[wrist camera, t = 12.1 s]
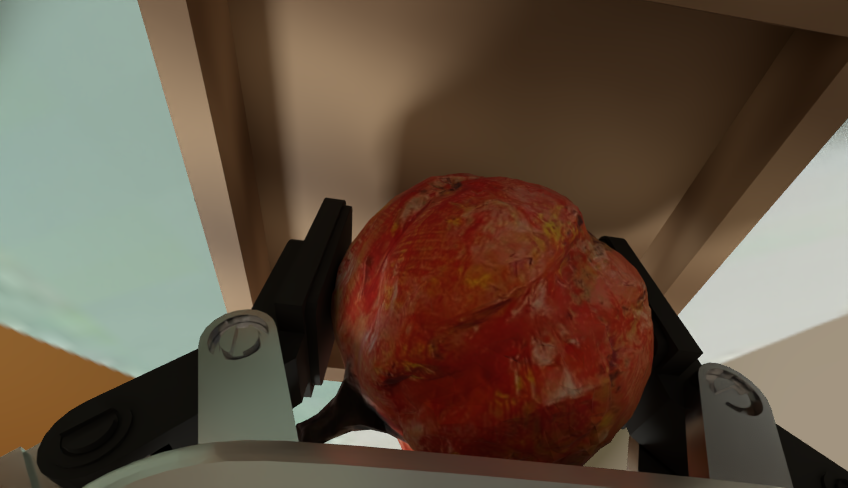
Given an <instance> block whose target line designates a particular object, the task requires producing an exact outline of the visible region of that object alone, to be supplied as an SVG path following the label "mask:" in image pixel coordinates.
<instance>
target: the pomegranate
mask: <svg viewBox="0 0 848 488" xmlns="http://www.w3.org/2000/svg"><path fill="white" fill-rule="evenodd" d="M331 318H332V324H333V330H334V335H335V339H336V342H337V345H338V348H339V351H340V354H341V357H342V360H343V363H344V366H345V373H344V379H343V382H342V384H341V386H340V388H339V390H338V393H337V395H336V396H335V397H334V398H333V399H332V400H331V401H330V402H329V403H328V404H327V405H326V406H325V407H324V408H323V409H322V410H321V411H320V412H319V413H318V414H316V415H315V416H313V417H311V418H310V419H308V420H306V421H303V422H301V423H298V424H297V425H296V430H297V435H298V440H299V442H309V443H325V442H327V441H329V440H331V439H333V438H335V437H338V436H340V435H343V434H345V433H348V432H351V431H359V430H370V429H371V430H375V431H380V432H384V433H388V434H390V435H392V436H394V437H396V438H397V439H398V441H399V443H400V445H401V448H402V450H410V451H421V452H433V453H444V454H455V455H466V456H478V457H488V458H499V459H510V460H521V461H531V462H542V463H553V464H563V465H574V466H583V465H584V464H585V463H586V462H587V461H588V460H589V459H590V458H591V457H592V456H593V455H594V454H595V453H596V452H597V451H598V450H599V449H600V448H602V447H604V446H605V445H607V444H609V443H610V442H611V441H612V439H613V438H614V436H615V434H616V433H617V432H618V431H619V430H620V429H621V428H622V427H623V426H624V425H625V424H626V423H627V422H628V420H629V419H630V418H631V417H632V415H633V413H634V411H635V409H636V407H637V405H638V403H639V401H640V399H641V396H642V393H643V391H644V388H645V386H646V383H647V381H648V379H649V377H650V374H651V369H652V362H653V352H654V335H653V322H652V319H651V308H650V307H649V303H648V293H647V288H646V285H645V282H644V280H643V279H642V277H641V276H640V274H639V272H638V271H637V269H636V268H635V267H634V266H633V265H632V264H631V263H630V262H629V261H627V260H626V259H625V258H624V257H623V256H622V255H621V254H620V253H618V252H617V251H615V250H614V249H612V248H611V247H609V246H608V245H607V244H605V243H603V242H601V241H599V240H598V239H597V238H596V237H595V236H594V235H592V234H591V233H590V232H589V231H588V230H587V229H586V226H585V223H584V220H583V216H582V213H581V212H580V210H579V208H578V207H577V206H576V205H574V204H573V202H572V201H571V200H569V199H568V198H567V197H566V196H563V195H561V194H559V193H558V192H556V191H554V190H552V189H550V188H547V187H545V186H542V185H539V184H534V183H529V182H525V181H522V180H518V179H512V178H507V177H500V176H499V177H484V176H480V177H479V176H476V175H473V174H469V173H457V174H448V175H444V176H432V177H429V178H427V179H425V180H423V181H422V182H420V183H418V184H416V185H414V186H413V187H411V188H409V189H407V190H406V191H404V192H402V193H400V194H399V195H397V196H395V197H394V198H393V199H392V200H390V201H389V202H388V203H387V204H386V205H385V206H384V207H383V208H382V209H381V210H380V211H379V212H377V213H376V214H375V215H374V216H373V217H372V218H371V219H370V220H369V221H368V222H367V224H366V225H365V226H364V228H363V229H362V230H361V232H360V233H359V234H358V235H357V237H356V238H355V239H354V240H353V242H352V243H351V244H350V246H349V248H348V250H347V252H346V254H345V256H344V258H343V260H342V262H341V263H340V265H339V267H338V272H337V277H336V281H335V289H334V291H333V293H332V298H331Z"/></svg>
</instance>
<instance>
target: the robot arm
mask: <svg viewBox="0 0 848 488" xmlns="http://www.w3.org/2000/svg"><path fill="white" fill-rule="evenodd" d="M352 212H353V209H352V206H347V205H346V201H345V200H341V199H333V198H325V199H324V200H323V202H322V204H321V206H320V209H319V211H318V213H317V215H316V217H315V219H314V221H313V223H312V225H311V227H310V229H309V231H308V233H307V235H306V237H305V239H304V240H296V239H290V240H289V241H288V242H287V244H286V246H285V248H284V249H283V251H282V253H281V255H280V257H279V259H278V260H277V262H276V264H275V266H274V268H273V270H272V272H271V273H270V275H269V277H268V279H267V281H266V283H265V284H264V286H263V288H262V290H261V292H260V294H259V296H258V297H257V299H256V301H255V303H254V305H253V307H252V308H251V309H244V310H236V311H233V312H230V313H227V314H224V315H223V316H221V317H219V318H217V319H215V320H214V321H213V322H212V323H211V324H210V325H208V326H207V327H206V329H205V330H204V332H203V333H202V335H201V336H200V340H199V345H198V349H196V350H194V351H192V352H190V353H188V354H186V355H184V356H182V357H179V358H177V359H175V360H173V361H171V362H169V363H167V364H165V365H162V366H160V367H158V368H156V369H154V370H152V371H150V372H148V373H145V374H143V375H141V376H139V377H137V378H135V379H133V380H131V381H128V382H126V383H124V384H122V385H120V386H118V387H116V388H114V389H111V390H109V391H107V392H105V393H103V394H101V395H99V396H97V397H95V398H92V399H90V400H88V401H86V402H85V403H83V404H81V405H79V406H77V407H76V408H74V409H72V410H71V411H69V412H68V413H67V414H65V415H64V416H63V417H62V418H60V419H59V420H58V421H57V422H56V423H55V424H54V425H53V426H52V427H51V429H50V430H49V431H48V432H47V433H46V435H45V436H44V438H43V440H42V442H41V443H39V444H38V445H36V446H34V447H32V448H30V449H29V450H26V451H25V450H24V449H23V448H21V447H19V448H17V449H15V450H13V451H12V452H10V453H8V454H6V455H4V456H2V457H0V488H848V471H846V470H845V469H843V468H842V467H840V466H839V465H837V464H836V463H834V462H833V461H831V460H829V459H828V458H827V457H825V456H824V455H822V454H821V453H819V452H818V451H816V450H815V449H813V448H812V447H810V446H809V445H807V444H806V443H804V442H802V441H801V440H800V439H798V438H797V437H795V436H793V435H792V434H790V433H789V432H788V431H786V430H784V429H783V428H782V427H780V426H779V425H777V424H775V420H774V417H773V414H772V410H771V407H770V405H769V403H768V400H767V399H766V397H765V396H764V395H763V393H762V392H761V391H760V390H759V389H758V388H757V387H756V386H755V385H754V384H753V383H752V382H751V381H750V380H749V379H747V378H746V377H744V376H743V375H742V374H741V373H739V372H737V371H735V370H733V369H731V368H730V367H727V366H724V365H721V364H718V363H706V364H703V365H701V363H700V362H699V360H698V358H699V357H700V356H701V355H702V354H703V352H702V351H701V349H700V348H699V346H698V345H697V343H696V342H695V340H694V339H693V337H692V336H691V335H690V333H689V332H688V330H687V329H686V327H685V326H684V324H683V323H682V321H681V320H680V318H679V317H678V316H677V314H676V313H675V311H674V310H673V308H672V307H671V305H670V304H669V302H668V301H667V300H666V298H665V297H664V295H663V294H662V292H661V291H660V289H659V288H658V286H657V285H656V283H655V282H654V281H653V279H652V278H651V276H650V275H649V273H648V272H647V270H646V269H645V267H644V266H643V264H642V263H641V262H640V260H639V259H638V257H637V256H636V254H635V253H634V251H633V250H632V248H631V247H630V246H629V244H628V243H627V241H626V240H625V239H623V238H618V237H610V236H602V237H600V238H599V241H601V242H603V243H605V244H607V245H608V246H609V247H611V248H612V249H614V250H615V251H617V252H618V253H620V254H621V255H622V256H623V257H624V258H625V259H626V260H627V261H629V262H630V263H631V264H632V265H633V266H634V267H635V268H636V269H637V271H638V272H639V274H640V276H641V277H642V279H643V280H644V282H645V285H646V288H647V293H648V303H649V307H650V308H651V319H652V322H653V335H654V352H653V362H652V369H651V374H650V377H649V379H648V381H647V383H646V386H645V388H644V391H643V393H642V396H641V399H640V401H639V403H638V405H637V407H636V409H635V411H634V413H633V415H632V417H631V418H630V419H629V420H628V422H627V423H626V424H625V425H624V426H623V427H622V428H621V429H625V428H626V427H627V430H628V432H629V435H630V436H629V445H628V460H627V471H625V470H616V469H605V468H595V467H584V466H574V465H563V464H553V463H542V462H531V461H521V460H510V459H499V458H488V457H478V456H466V455H455V454H444V453H433V452H421V451H410V450H399V449H388V448H376V447H365V446H352V445H338V444H323V443H309V442H299V440H298V435H297V430H296V425H295V420H294V415H293V408H294V407H296V406H297V405H299V404H300V403H302V400H303V397H311V396H312V392H313V389H314V386H315V385H322V383H323V380H324V377H325V373H326V370H327V366H328V362H329V359H330V355H331V351H332V348H333V344H334V340H335V335H334V330H333V324H332V318H331V298H332V293H333V291H334V289H335V281H336V277H337V272H338V267H339V265H340V263H341V262H342V260H343V258H344V256H345V254H346V252H347V250H348V248H349V246H350V244H351V243H352Z"/></svg>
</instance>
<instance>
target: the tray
mask: <svg viewBox="0 0 848 488" xmlns="http://www.w3.org/2000/svg"><path fill="white" fill-rule="evenodd" d="M138 4H139V7H140V11H141V14H142V18H143V21H144V25H145V28H146V32H147V35H148V39H149V42H150V46H151V49H152V52H153V56H154V59H155V63H156V66H157V70H158V73H159V77H160V80H161V84H162V87H163V91H164V94H165V98H166V101H167V105H168V108H169V111H170V115H171V118H172V122H173V125H174V129H175V132H176V136H177V139H178V143H179V146H180V150H181V153H182V157H183V160H184V164H185V167H186V170H187V174H188V177H189V181H190V184H191V188H192V191H193V195H194V198H195V202H196V205H197V209H198V212H199V216H200V219H201V223H202V226H203V229H204V233H205V236H206V240H207V243H208V247H209V250H210V254H211V257H212V261H213V264H214V268H215V271H216V275H217V278H218V282H219V285H220V288H221V292H222V295H223V299H224V302H225V306H226V309H227V313H230V312H233V311H236V310H244V309H251V308H252V307H253V305H254V303H255V301H256V299H257V297H258V296H259V294H260V292H261V290H262V288H263V286H264V284H265V283H266V281H267V279H268V277H269V275H270V273H271V272H272V270H273V268H274V266H275V264H276V262H277V260H278V259H279V257H280V255H281V253H282V251H283V249H284V248H285V246H286V244H287V242H288V241H289V240H290V239H296V240H304V239H305V237H306V235H307V233H308V231H309V229H310V227H311V225H312V223H313V221H314V219H315V217H316V215H317V213H318V211H319V209H320V206H321V204H322V202H323V200H324V199H325V198H333V199H341V200H345V201H346V205H347V206H352V209H353V212H352V242H353V240H354V239H355V238H356V237H357V235H358V234H359V233H360V232H361V230H362V229H363V228H364V226H365V225H366V224H367V222H368V221H369V220H370V219H371V218H372V217H373V216H374V215H375V214H376V213H377V212H379V211H380V210H381V209H382V208H383V207H384V206H385V205H386V204H387V203H388V202H389V201H390V200H392V199H393V198H394V197H395V196H397V195H399V194H400V193H402V192H404V191H406V190H407V189H409V188H411V187H413V186H414V185H416V184H418V183H420V182H422V181H423V180H425V179H427V178H429V177H432V176H444V175H448V174H457V173H469V174H473V175H476V176H479V177H480V176H484V177H499V176H500V177H507V178H512V179H518V180H522V181H525V182H529V183H534V184H539V185H542V186H545V187H547V188H550V189H552V190H554V191H556V192H558V193H559V194H561V195H563V196H566V197H567V198H568V199H569V200H571V201H572V202H573V204H574V205H576V206H577V207H578V208H579V210H580V212H581V213H582V216H583V220H584V223H585V226H586V229H587V230H588V231H589V232H590V233H591V234H592V235H594V236H595V237H596V238H597V239H598V240H599V238H600V237H602V236H610V237H618V238H623V239H625V240H626V241H627V243H628V244H629V246H630V247H631V248H632V250H633V251H634V253H635V254H636V256H637V257H638V259H639V260H640V262H641V263H642V264H643V266H644V267H645V269H646V270H647V272H648V273H649V275H650V276H651V278H652V279H653V281H654V282H655V283H656V285H657V286H658V288H659V289H660V291H661V292H662V294H663V295H664V297H665V298H666V300H667V301H668V302H669V304H670V305H671V307H672V308H673V310H674V311H675V313H676V314H677V315H678V314H679V313H680V312H681V311H682V309H683V308H684V307H685V306H686V305H687V304H688V302H689V301H690V300H691V299H692V298H693V297H694V296H695V294H696V293H697V292H698V291H699V290H700V289H701V287H702V286H703V285H704V284H705V283H706V282H707V280H708V279H709V278H710V277H711V276H712V275H713V274H714V272H715V271H716V270H717V269H718V268H719V267H720V265H721V264H722V263H723V262H724V261H725V260H726V258H727V257H728V256H729V255H730V254H731V253H732V252H733V250H734V249H735V248H736V247H737V246H738V245H739V243H740V242H741V241H742V240H743V239H744V238H745V236H746V235H747V234H748V233H749V232H750V231H751V230H752V228H753V227H754V226H755V225H756V224H757V223H758V221H759V220H760V219H761V218H762V217H763V216H764V214H765V213H766V212H767V211H768V210H769V209H770V208H771V206H772V205H773V204H774V203H775V202H776V201H777V199H778V198H779V197H780V196H781V195H782V194H783V192H784V191H785V190H786V189H787V188H788V187H789V186H790V184H791V183H792V182H793V181H794V180H795V179H796V177H797V176H798V175H799V174H800V173H801V172H802V170H803V169H804V168H805V167H806V166H807V165H808V164H809V162H810V161H811V160H812V159H813V158H814V157H815V155H816V154H817V153H818V152H819V151H820V150H821V148H822V147H823V146H824V145H825V144H826V143H827V142H828V140H829V139H830V138H831V137H832V136H833V135H834V133H835V132H836V131H837V130H838V129H839V128H840V126H841V125H842V124H843V123H844V122H845V121H846V120H847V118H848V0H138ZM344 373H345V366H344V363H343V360H342V357H341V354H340V351H339V348H338V345H337V342H336V339H335V340H334V344H333V348H332V351H331V355H330V359H329V362H328V366H327V370H326V373H325V377H324V380H329V381H339V382H343V379H344Z"/></svg>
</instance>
